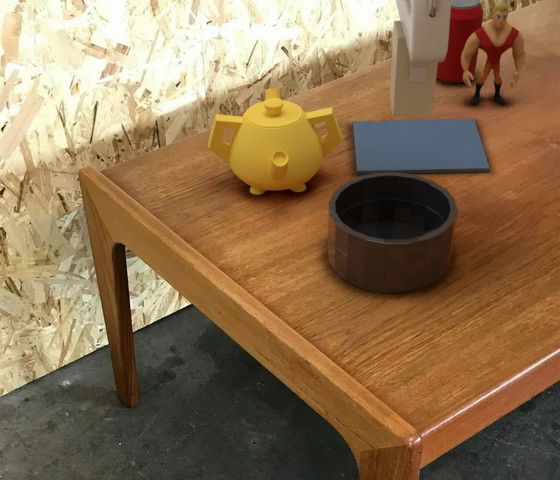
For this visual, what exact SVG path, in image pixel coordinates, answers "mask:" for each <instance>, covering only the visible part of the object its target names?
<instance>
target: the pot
mask: <svg viewBox="0 0 560 480" xmlns="http://www.w3.org/2000/svg"><path fill="white" fill-rule="evenodd" d="M327 207H328V208H327V211H328V212H327V213H328V214H327V215H328V216H327V218H328V219H327V225H328V227H327V228H328V229H327V256H328V262H329V265H330V267H331V269H332V270H333V271H334V273H335V274H336V275H337V276H338V277H339V278H341V280H342V281H344V282H345V283H348V284H350V285H351V286H354V287H356V288H358V289H360V290H364V291H368V292H373V293H377V294H378V293H379V294H391V295H395V294H407V293H412V292H415V291H419V290H422V289H425V288H427V287H429V286H432V285H433V284H435V283H436V282H438V281H439V280H440V279H441V278H442V277H443V276H444V275H445V274H446V272H447V271H448V269H449V266H450V264H451V258H452V255H453V248H454V240H455V234H456V227H457V220H458V213H459V210H458V205H457V201H456V199H455V197H454V196H453V195H452V194H451V193H450V192H449V190H448V189H447V188H445V187H444V186H442V185H440V184H439V183H437V182H436V181H434V180H432V179H429V178H426V177H423V176H421V175H417V174H414V173H408V174H406V173H399V172H391V173H374V174H363V175H359V176H357V177H355V178H353V179H349V180H348V181H345V182H344V183H342V184H341V185H340V186H339V187H337V189H335V190H334V191H333V193H332V194H331V196H330V199H329V200H328V206H327Z"/></svg>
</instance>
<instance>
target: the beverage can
mask: <svg viewBox="0 0 560 480" xmlns="http://www.w3.org/2000/svg"><path fill="white" fill-rule="evenodd" d="M481 1H482V0H451V11H450V25H449V38H448V49H447V54H446V57H445V59H444V61H443V62H439V63H438V64H437V74H436V78H438V79H439V80H440V81H443V82H445V83H450V84H459V83H464V81H463V73H464V70H463V67H462V64H461V56H462V52H463V50H464V47H465V44H466V42H467V40H468V38H469V37H470V36H471V34H472V33H474V32H475V31H476V30H478V29H480V28H482V27H483V19H484V12H485V11H484V8H483V6H482V3H481ZM479 50H480V49H479V48H478V49H477V50H476V51H475V52H474V55H473V56H472V59H471V62H470V65H469V68H468V71H469V72H470V73H471V74H472V75H473V76H474V75H475V73H476V70H477V69H476V67H477V62H478V55H479Z"/></svg>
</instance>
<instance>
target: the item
mask: <svg viewBox="0 0 560 480" xmlns="http://www.w3.org/2000/svg"><path fill="white" fill-rule="evenodd" d="M391 49H392V51H391V66H390V67H391V68H390V83H389V84H390V85H389V86H390V87H389V102H390V103H389V104H390V108H391V113H392V117H409V116H411V117H413V116H433V113H434V104H435V103H434V102H435V95H436V93H435V92H436V84H437V83H436V82H437V76H436V74H437V64H438V63H429V64H428V67H427V76H426V80H425V81H424V82H423V83H412V82H410V79H409V62H410V58H409V53H408V49H407V45H406V41H405V37H404V33H403V29H402V24H401V20H393V34H392V48H391Z"/></svg>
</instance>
